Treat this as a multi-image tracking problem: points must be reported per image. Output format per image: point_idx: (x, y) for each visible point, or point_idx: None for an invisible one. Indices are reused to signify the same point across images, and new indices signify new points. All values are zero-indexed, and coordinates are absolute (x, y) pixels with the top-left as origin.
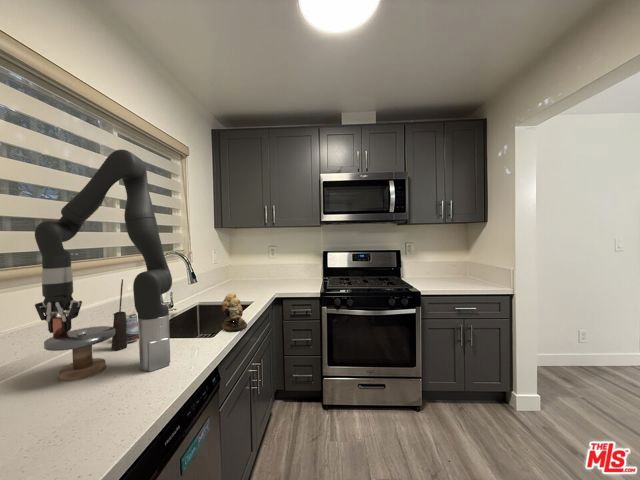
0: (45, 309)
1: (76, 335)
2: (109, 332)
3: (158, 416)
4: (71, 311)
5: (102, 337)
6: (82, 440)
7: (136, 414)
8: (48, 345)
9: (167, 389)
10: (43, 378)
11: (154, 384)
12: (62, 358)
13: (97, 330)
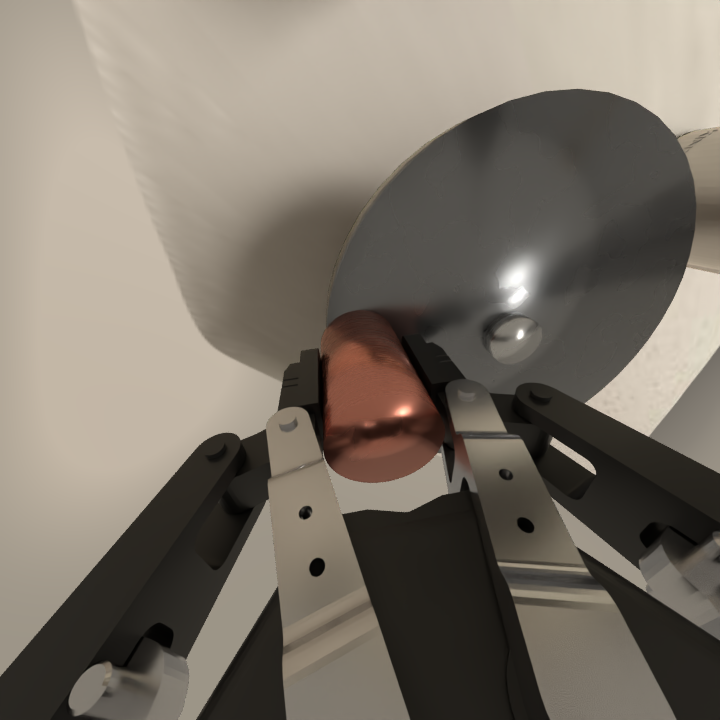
0: (171, 594)
1: (474, 341)
2: (664, 279)
3: (670, 408)
4: (594, 512)
5: (636, 348)
6: (574, 455)
7: (636, 409)
8: (437, 452)
9: (692, 340)
10: (321, 321)
11: (664, 323)
12: (164, 117)
13: (566, 237)
